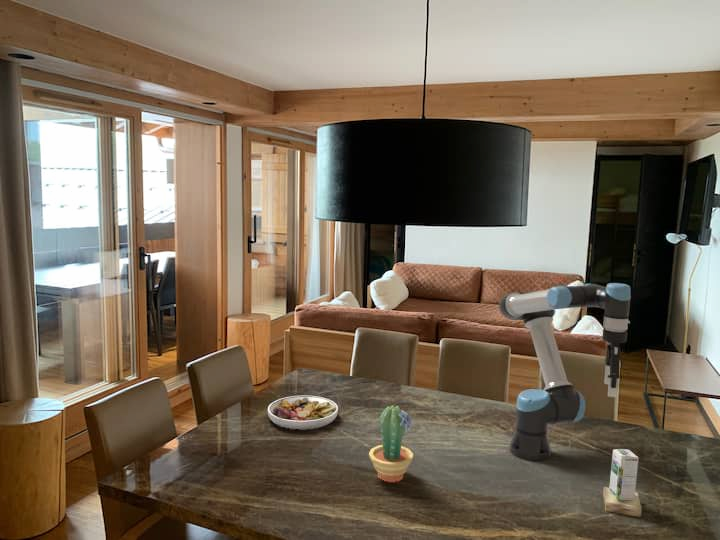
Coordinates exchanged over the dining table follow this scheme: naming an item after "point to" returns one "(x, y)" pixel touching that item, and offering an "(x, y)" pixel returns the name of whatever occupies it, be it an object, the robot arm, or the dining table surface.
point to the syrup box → (623, 474)
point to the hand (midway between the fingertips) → (610, 390)
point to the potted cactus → (392, 445)
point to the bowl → (302, 412)
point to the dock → (622, 504)
